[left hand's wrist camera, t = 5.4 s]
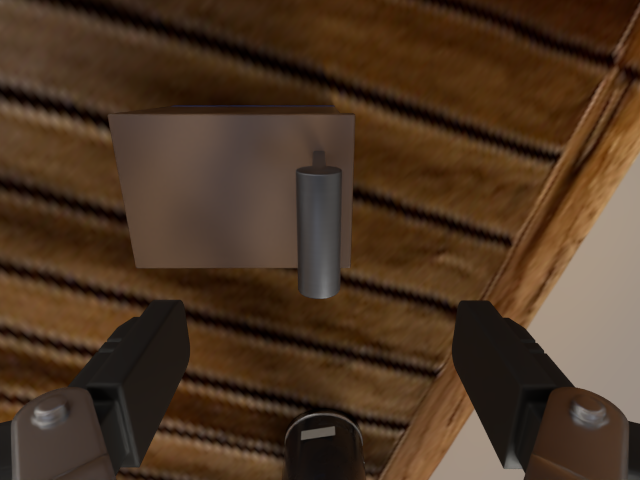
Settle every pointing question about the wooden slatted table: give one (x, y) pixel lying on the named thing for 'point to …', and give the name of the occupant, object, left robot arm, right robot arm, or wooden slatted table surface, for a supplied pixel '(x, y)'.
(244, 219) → the lid
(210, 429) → the wooden slatted table surface
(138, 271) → the wooden slatted table surface
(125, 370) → the left robot arm
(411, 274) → the wooden slatted table surface
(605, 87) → the wooden slatted table surface
